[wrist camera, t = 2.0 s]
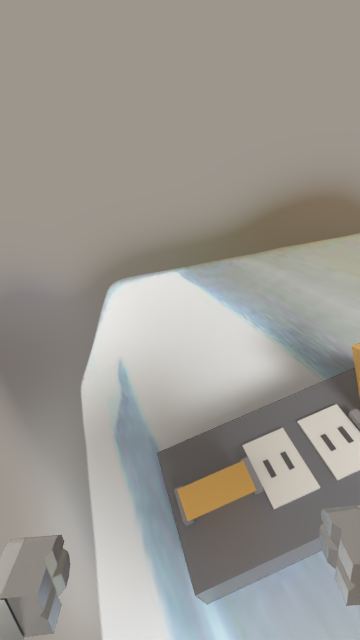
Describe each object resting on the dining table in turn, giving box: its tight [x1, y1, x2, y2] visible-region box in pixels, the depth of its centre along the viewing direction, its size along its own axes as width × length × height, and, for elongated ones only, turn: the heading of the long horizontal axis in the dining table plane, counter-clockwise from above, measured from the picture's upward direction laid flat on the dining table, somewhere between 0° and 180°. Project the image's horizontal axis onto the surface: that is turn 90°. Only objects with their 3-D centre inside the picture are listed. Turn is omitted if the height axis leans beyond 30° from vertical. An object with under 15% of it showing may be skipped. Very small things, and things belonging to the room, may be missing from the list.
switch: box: [177, 461, 257, 521], centre depth 25 cm, size 5×2×8 cm, turn 108°
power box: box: [157, 368, 360, 604], centre depth 31 cm, size 27×12×6 cm, turn 108°
